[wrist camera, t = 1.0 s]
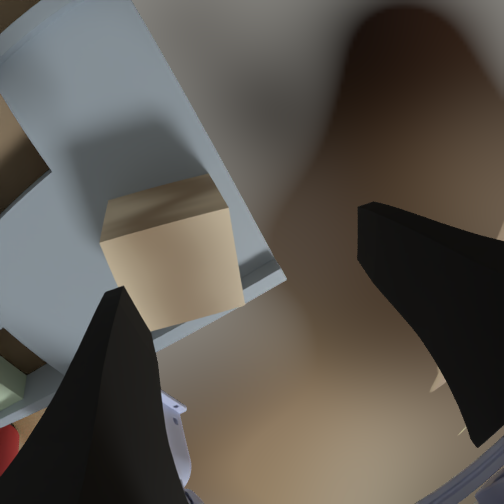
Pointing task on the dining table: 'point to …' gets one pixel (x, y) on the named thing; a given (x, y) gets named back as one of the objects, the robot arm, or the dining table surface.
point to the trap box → (93, 178)
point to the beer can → (8, 446)
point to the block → (174, 251)
